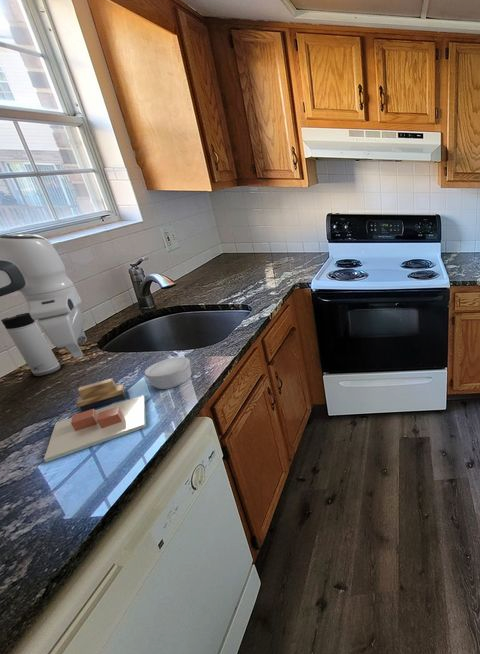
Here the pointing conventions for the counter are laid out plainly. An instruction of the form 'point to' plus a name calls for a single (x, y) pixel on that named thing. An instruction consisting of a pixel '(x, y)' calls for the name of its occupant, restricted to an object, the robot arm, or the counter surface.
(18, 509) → the counter surface
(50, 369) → the travel mug
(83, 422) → the reddish brown block
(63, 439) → the tile
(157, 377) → the ramekin
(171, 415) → the counter surface
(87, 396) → the brush
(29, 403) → the counter surface
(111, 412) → the terracotta brick
